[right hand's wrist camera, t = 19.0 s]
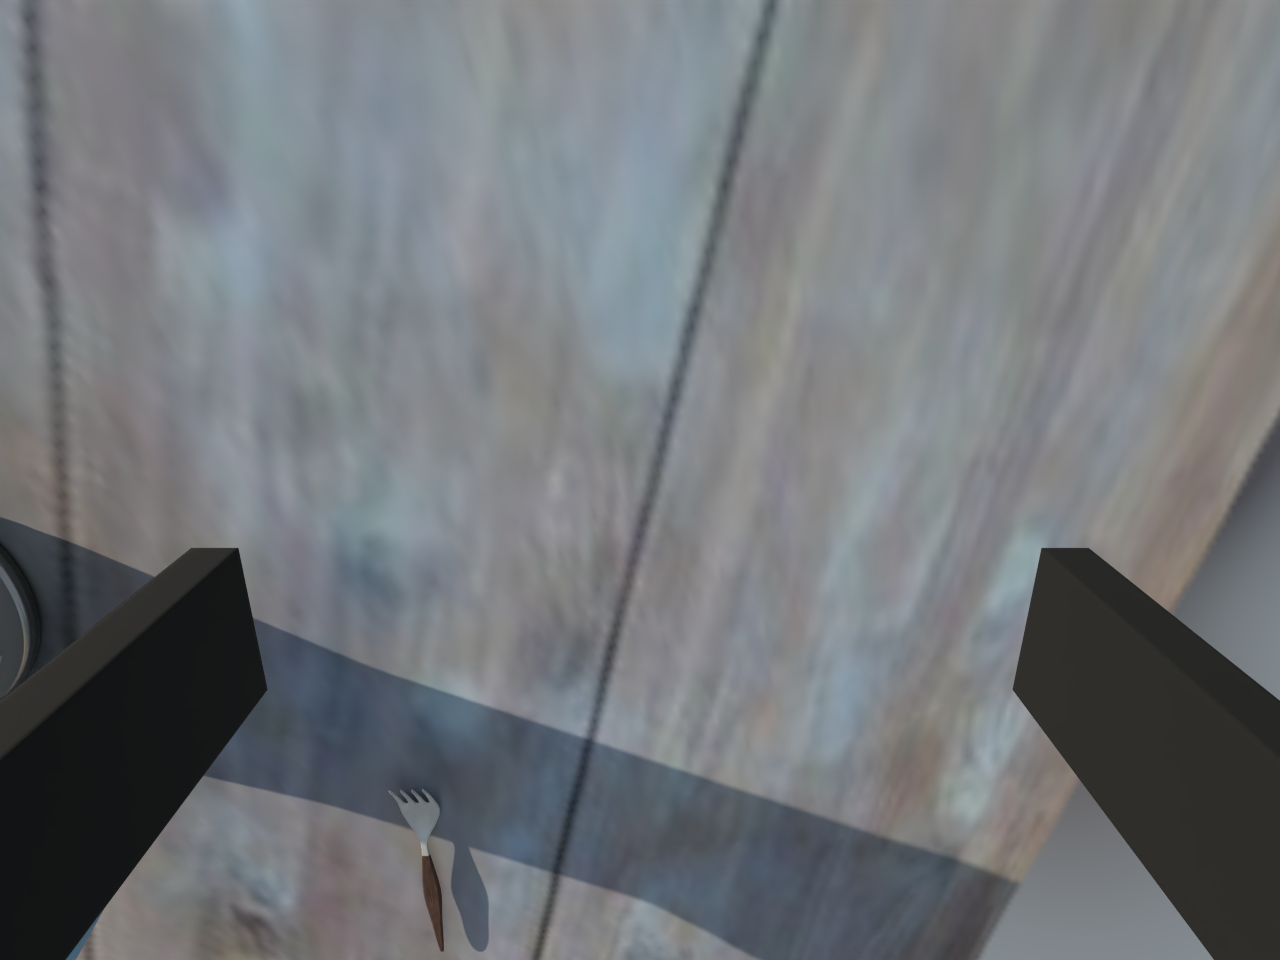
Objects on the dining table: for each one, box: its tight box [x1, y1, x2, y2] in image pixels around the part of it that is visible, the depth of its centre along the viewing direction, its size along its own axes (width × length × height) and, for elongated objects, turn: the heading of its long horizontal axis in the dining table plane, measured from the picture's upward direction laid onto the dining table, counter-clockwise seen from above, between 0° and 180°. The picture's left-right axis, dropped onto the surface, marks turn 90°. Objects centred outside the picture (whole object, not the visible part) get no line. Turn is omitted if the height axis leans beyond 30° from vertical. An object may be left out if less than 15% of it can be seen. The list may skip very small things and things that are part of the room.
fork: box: [388, 789, 444, 952], centre depth 52 cm, size 3×16×2 cm, turn 2°
